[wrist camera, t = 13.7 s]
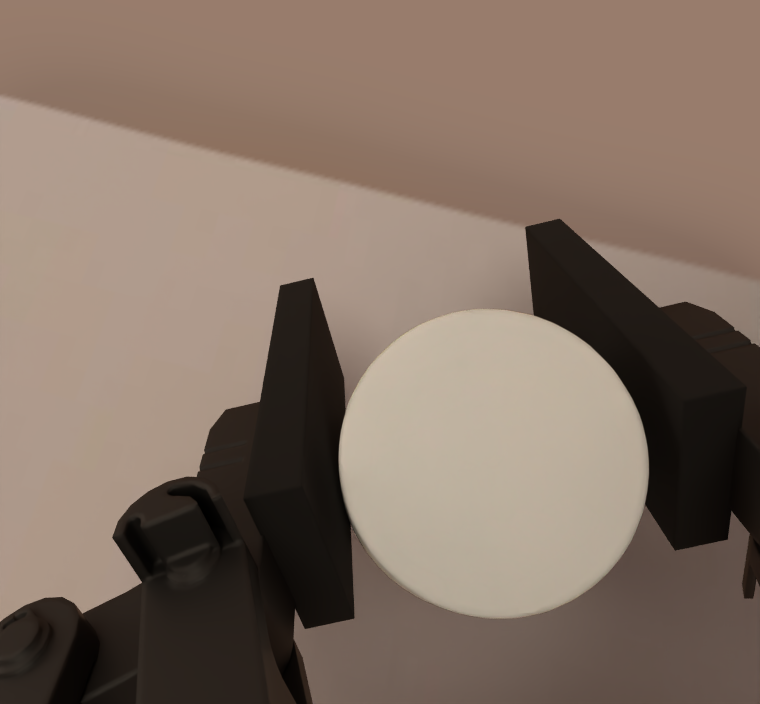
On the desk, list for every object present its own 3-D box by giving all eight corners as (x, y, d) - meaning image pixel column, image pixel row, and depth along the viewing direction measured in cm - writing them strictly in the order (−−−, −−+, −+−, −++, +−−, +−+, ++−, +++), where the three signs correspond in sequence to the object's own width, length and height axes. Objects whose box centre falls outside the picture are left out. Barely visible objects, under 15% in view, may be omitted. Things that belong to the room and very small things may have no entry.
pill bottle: (494, 608, 15) (561, 751, 7) (341, 501, 16) (235, 510, 8) (588, 448, 15) (754, 398, 7) (436, 355, 16) (431, 220, 8)
